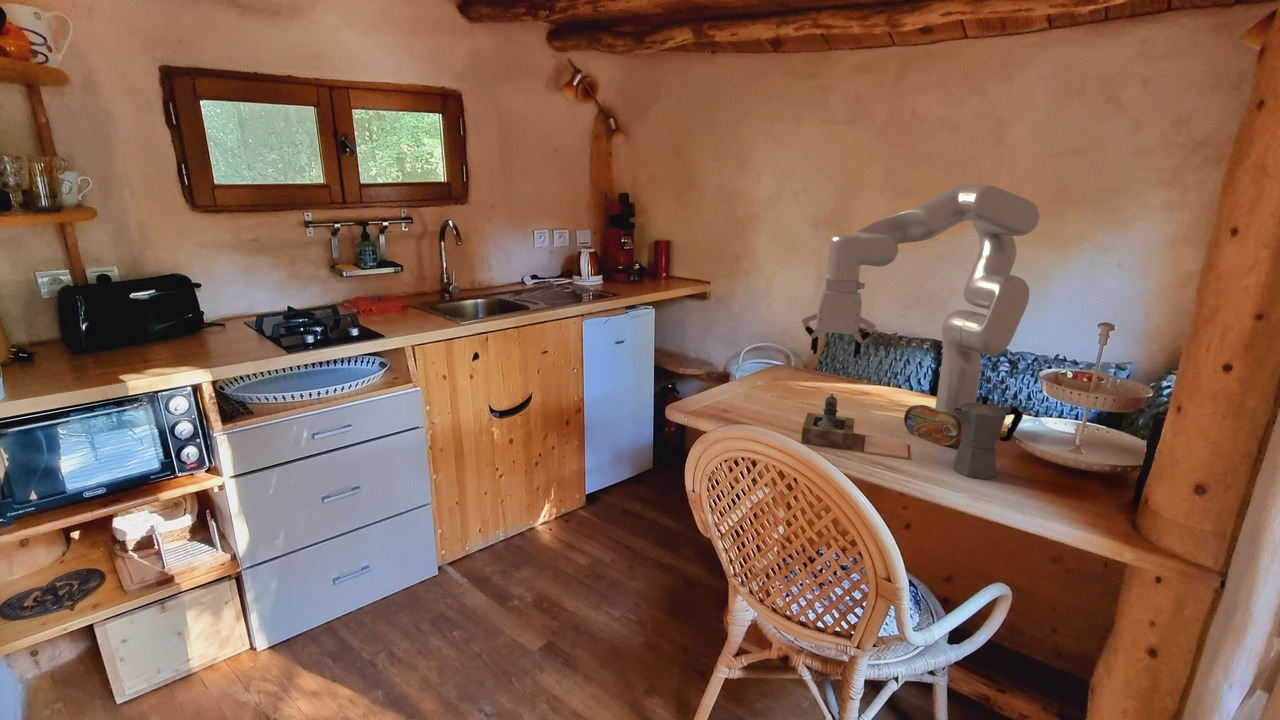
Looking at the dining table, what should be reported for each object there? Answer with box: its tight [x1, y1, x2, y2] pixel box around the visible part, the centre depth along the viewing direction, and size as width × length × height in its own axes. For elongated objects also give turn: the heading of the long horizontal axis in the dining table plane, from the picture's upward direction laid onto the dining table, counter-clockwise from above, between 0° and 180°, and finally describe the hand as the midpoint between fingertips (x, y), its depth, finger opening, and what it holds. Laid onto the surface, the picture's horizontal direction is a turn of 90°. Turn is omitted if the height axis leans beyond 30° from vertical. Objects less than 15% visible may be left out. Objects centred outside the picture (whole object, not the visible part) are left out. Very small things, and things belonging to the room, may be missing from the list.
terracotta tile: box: [863, 436, 909, 460], centre depth 159 cm, size 10×10×1 cm
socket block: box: [800, 412, 856, 451], centre depth 165 cm, size 12×12×4 cm
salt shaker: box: [817, 393, 841, 429], centre depth 164 cm, size 6×6×12 cm
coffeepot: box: [952, 395, 1024, 480], centre depth 145 cm, size 15×9×18 cm, turn 90°
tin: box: [903, 404, 963, 446], centre depth 165 cm, size 15×3×8 cm, turn 33°
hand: (835, 355), depth 160 cm, fingers open, 9 cm apart
